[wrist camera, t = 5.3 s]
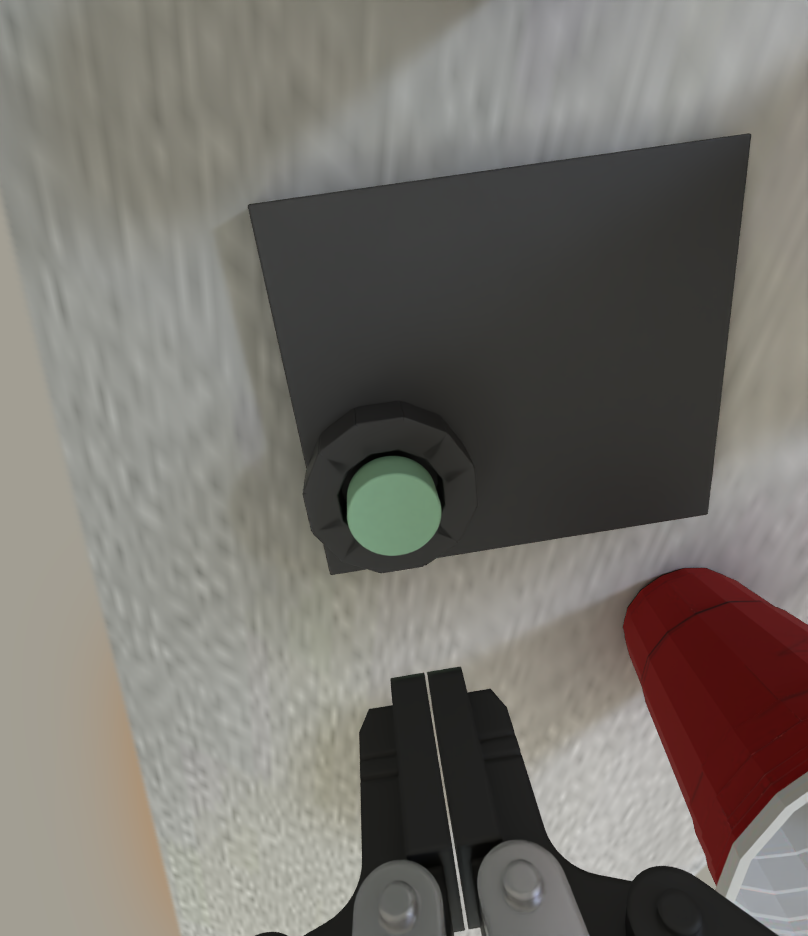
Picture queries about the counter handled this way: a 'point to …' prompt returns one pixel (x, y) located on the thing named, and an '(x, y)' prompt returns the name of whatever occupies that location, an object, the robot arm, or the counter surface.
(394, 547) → the button
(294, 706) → the counter surface
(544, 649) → the counter surface
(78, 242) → the counter surface
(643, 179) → the scale
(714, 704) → the plastic cup
